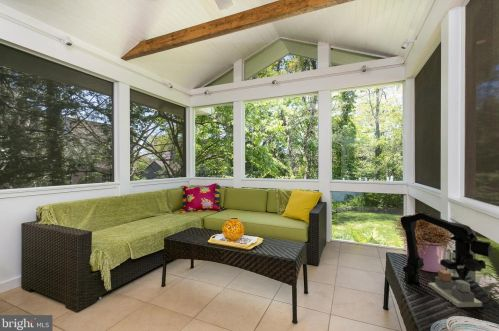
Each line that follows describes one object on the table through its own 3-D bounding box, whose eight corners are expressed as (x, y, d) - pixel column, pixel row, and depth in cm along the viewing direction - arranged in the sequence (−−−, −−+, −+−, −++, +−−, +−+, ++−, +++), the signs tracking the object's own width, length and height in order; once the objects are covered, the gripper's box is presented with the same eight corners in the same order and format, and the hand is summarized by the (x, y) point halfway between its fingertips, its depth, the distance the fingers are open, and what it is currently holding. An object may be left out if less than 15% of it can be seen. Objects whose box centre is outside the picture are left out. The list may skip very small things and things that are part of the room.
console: (457, 307, 116) (457, 295, 115) (428, 286, 135) (428, 275, 134) (482, 306, 116) (482, 294, 115) (449, 285, 135) (449, 275, 134)
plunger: (462, 294, 118) (462, 284, 117) (455, 289, 122) (455, 280, 121) (470, 293, 118) (470, 284, 117) (462, 289, 122) (462, 280, 121)
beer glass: (463, 278, 142) (463, 254, 142) (449, 277, 143) (449, 253, 143) (455, 272, 149) (455, 249, 148) (442, 272, 150) (442, 249, 150)
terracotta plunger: (444, 282, 128) (444, 273, 128) (438, 278, 132) (438, 270, 132) (451, 282, 128) (451, 273, 128) (445, 278, 132) (445, 269, 132)
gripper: (458, 257, 111) (458, 289, 111) (497, 256, 111) (497, 288, 111) (439, 248, 122) (439, 277, 122) (475, 247, 122) (474, 276, 122)
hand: (462, 280), depth 119 cm, fingers closed
